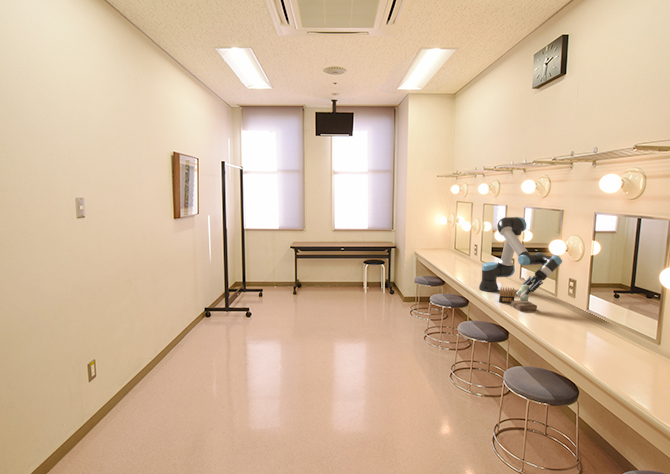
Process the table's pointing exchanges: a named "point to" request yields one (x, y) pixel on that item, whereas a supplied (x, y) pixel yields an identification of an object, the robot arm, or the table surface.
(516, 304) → the walnut plinth
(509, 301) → the ammunition clip
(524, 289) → the sage cylinder
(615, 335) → the table surface
